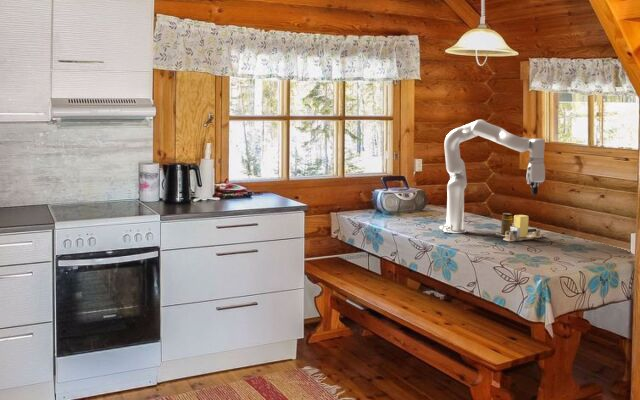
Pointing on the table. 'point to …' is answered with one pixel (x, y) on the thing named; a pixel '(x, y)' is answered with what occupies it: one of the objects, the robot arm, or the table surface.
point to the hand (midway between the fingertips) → (534, 194)
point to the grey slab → (517, 232)
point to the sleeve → (521, 224)
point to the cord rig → (510, 237)
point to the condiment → (505, 223)
